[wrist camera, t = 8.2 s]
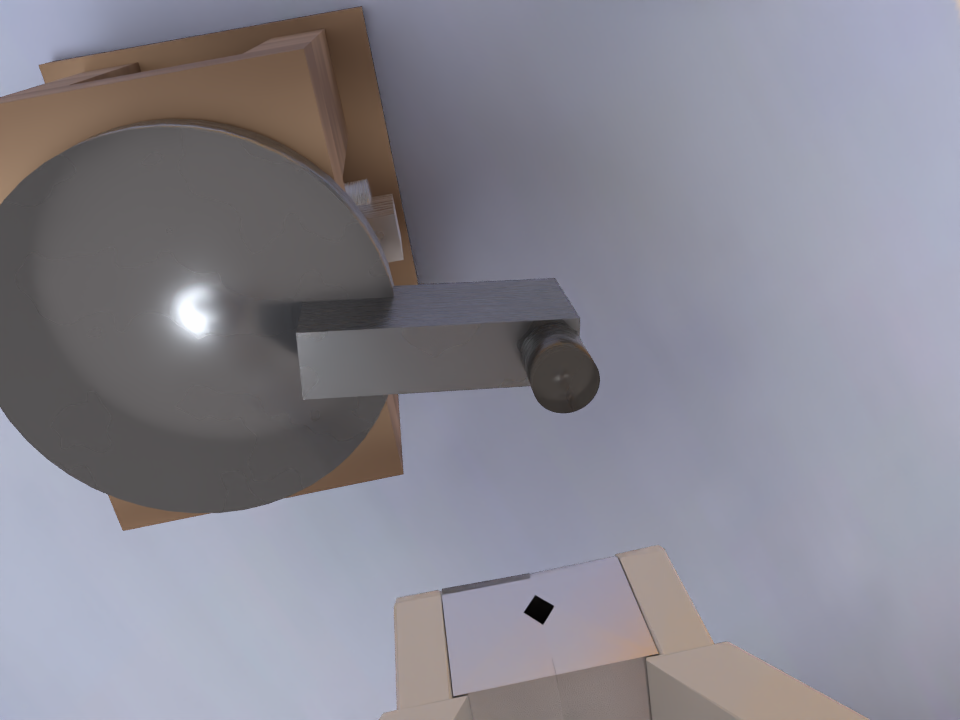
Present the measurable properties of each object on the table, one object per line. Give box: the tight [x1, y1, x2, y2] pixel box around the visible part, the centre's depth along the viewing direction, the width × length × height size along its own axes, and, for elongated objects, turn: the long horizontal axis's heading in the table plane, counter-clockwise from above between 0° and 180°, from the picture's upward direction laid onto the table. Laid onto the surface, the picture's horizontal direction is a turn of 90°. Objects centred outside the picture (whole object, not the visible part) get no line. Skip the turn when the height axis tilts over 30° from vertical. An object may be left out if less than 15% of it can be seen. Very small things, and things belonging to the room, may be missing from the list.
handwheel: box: [0, 119, 600, 513], centre depth 22 cm, size 16×11×6 cm
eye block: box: [0, 6, 418, 531], centre depth 30 cm, size 14×12×12 cm
